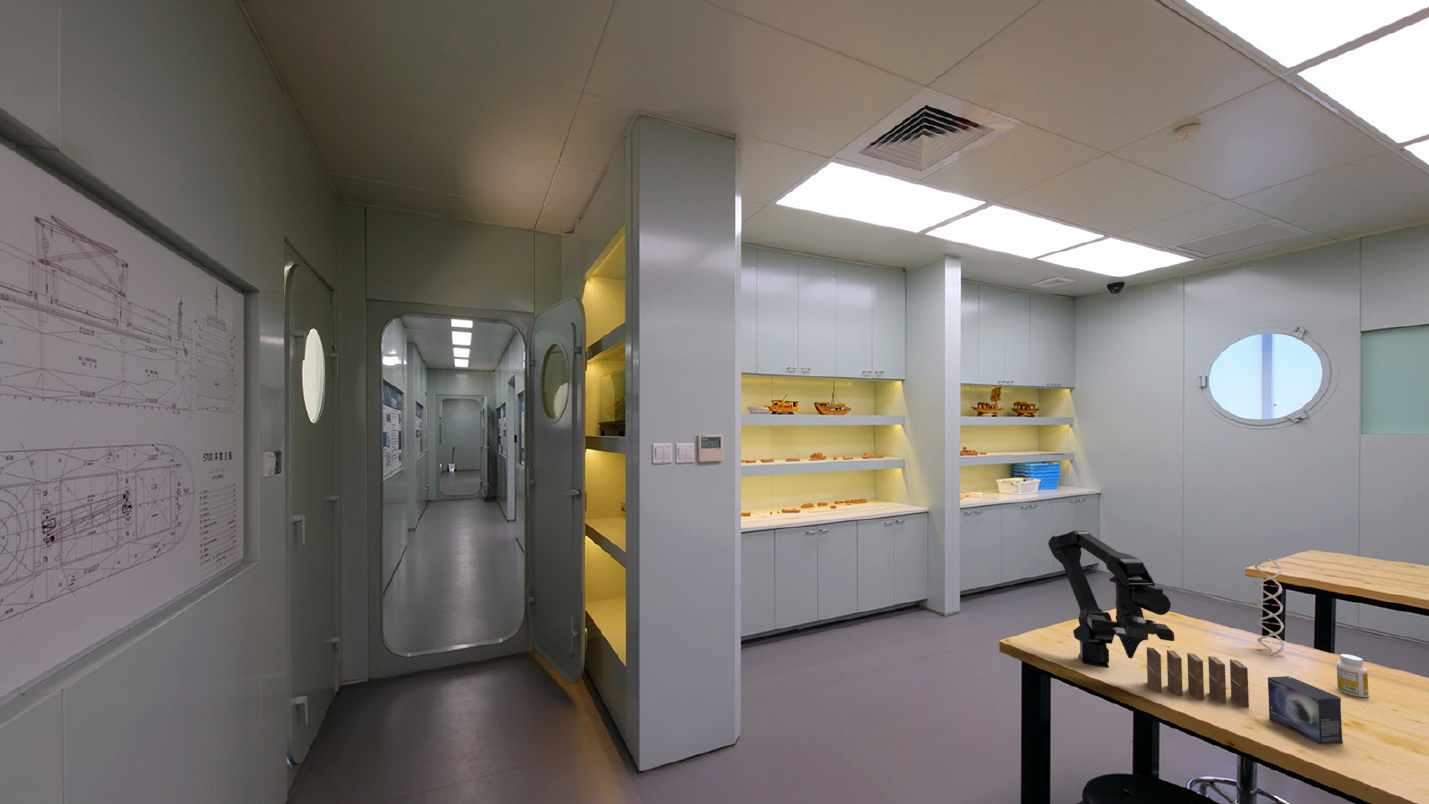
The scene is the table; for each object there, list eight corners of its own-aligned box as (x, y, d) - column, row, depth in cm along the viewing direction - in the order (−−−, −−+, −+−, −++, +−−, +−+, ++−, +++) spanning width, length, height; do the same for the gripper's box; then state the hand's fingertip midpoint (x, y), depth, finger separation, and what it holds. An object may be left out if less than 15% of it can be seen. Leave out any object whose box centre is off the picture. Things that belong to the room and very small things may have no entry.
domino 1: (1154, 690, 142) (1153, 654, 143) (1147, 682, 147) (1146, 646, 147) (1161, 692, 142) (1160, 655, 142) (1154, 683, 146) (1153, 647, 147)
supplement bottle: (1357, 689, 144) (1356, 654, 145) (1374, 699, 139) (1373, 662, 140) (1332, 686, 146) (1330, 651, 147) (1347, 695, 141) (1346, 659, 141)
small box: (1266, 718, 129) (1265, 675, 130) (1290, 717, 130) (1288, 675, 130) (1319, 744, 119) (1317, 698, 119) (1344, 743, 119) (1342, 697, 120)
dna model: (1284, 659, 163) (1281, 563, 165) (1255, 652, 168) (1252, 558, 170) (1286, 653, 167) (1283, 559, 169) (1258, 646, 172) (1254, 555, 174)
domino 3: (1196, 698, 139) (1195, 660, 139) (1188, 689, 143) (1187, 652, 144) (1204, 699, 138) (1203, 661, 139) (1195, 690, 143) (1194, 654, 143)
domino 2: (1175, 694, 141) (1173, 657, 141) (1167, 686, 145) (1166, 649, 146) (1182, 695, 140) (1181, 658, 140) (1175, 687, 145) (1174, 650, 145)
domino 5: (1240, 705, 135) (1239, 666, 136) (1231, 696, 140) (1229, 659, 140) (1249, 707, 135) (1247, 668, 135) (1239, 698, 139) (1237, 660, 140)
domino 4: (1218, 702, 137) (1217, 663, 137) (1209, 693, 142) (1208, 655, 142) (1226, 703, 136) (1225, 664, 137) (1217, 694, 141) (1216, 657, 141)
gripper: (1096, 606, 144) (1097, 663, 143) (1182, 616, 136) (1183, 677, 136) (1086, 594, 154) (1087, 647, 154) (1165, 603, 147) (1167, 659, 146)
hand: (1129, 657), depth 147 cm, fingers closed
